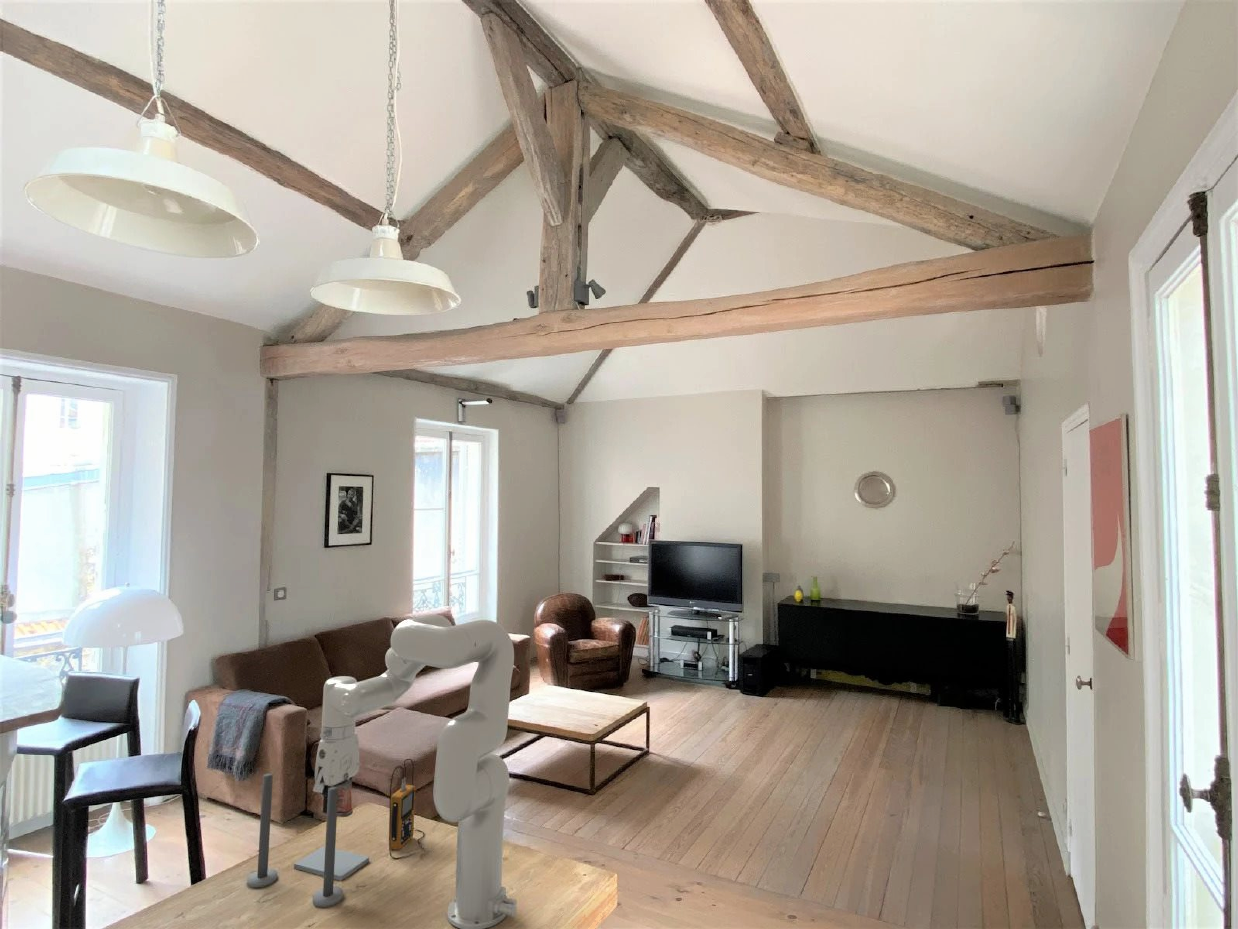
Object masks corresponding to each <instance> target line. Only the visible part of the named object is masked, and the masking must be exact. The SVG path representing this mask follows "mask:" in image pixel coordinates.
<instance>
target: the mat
mask: <svg viewBox="0 0 1238 929" xmlns="http://www.w3.org/2000/svg"><path fill="white" fill-rule="evenodd" d="M367 862H368V863H369V862H370V857H369V856H366V855H362V854H358V853H355V852H351V851H346V850H342V849H340V848H339V849H338V848H335V864H334V880H337V881H340V882H341V881H343V880H345V879H346V878H348V877H349V876H350V875H352V874H353V873H354V872H356V871H357V869H358V870H359V869H361V868H362V867H363V866H365V865H367ZM324 865H325V845H323V846H321V847H319V848H318V849H316V850H314V851H313V852H311V853H310V854H308V855H306V856H305V857H303V858H302V859H300V860H298V861H296V862H295V863H294V865H293V869H295V870H298V871H303V872H306V873H311V874H315V875H318V876H321V877H324ZM361 866H362V867H361Z"/></svg>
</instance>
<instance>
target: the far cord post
mask: <svg viewBox="0 0 1238 929" xmlns="http://www.w3.org/2000/svg"><path fill="white" fill-rule="evenodd" d="M273 776H274V774H273V773H265V774H263V776H262V787H261V788H262V790H261V804H260V805H261V806H260V824H259V840H258V858H257V860H258V862H257V870H256V871H253V872H252V873H250V874H248V876H247V878H246V879H247V880H246V885H248V886H247V887H249V886H250V887H249V888H251V887H260V888H263V887H267V886H270V885H272V884H273V883H275V882H276V880H277V878H278V871H277V870H276V869H274V868H268V867H269V853H270V852H269V850H270V832H271V816H272V799H273V798H272V797H273V795H272V794H273V783H274V782H273V781H274V780H273V779H274V778H273ZM271 883H272V884H271Z"/></svg>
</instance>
